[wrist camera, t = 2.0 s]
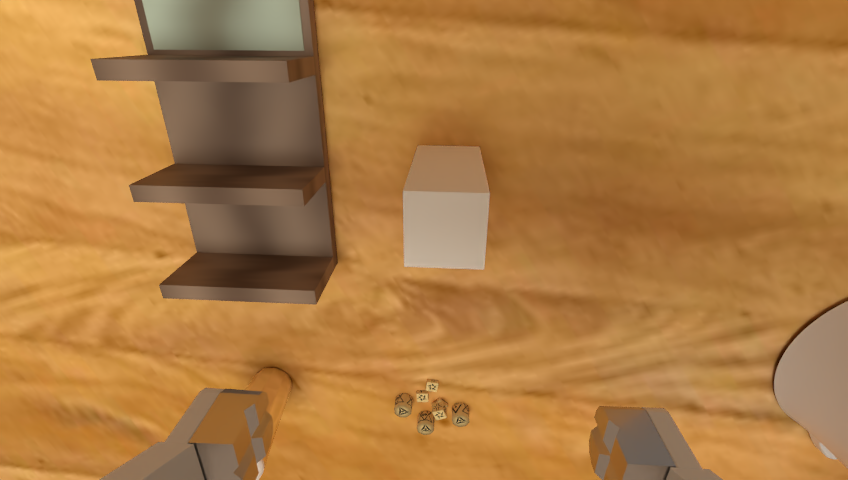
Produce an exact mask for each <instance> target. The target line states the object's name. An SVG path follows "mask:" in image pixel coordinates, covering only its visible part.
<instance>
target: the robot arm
mask: <svg viewBox="0 0 848 480" xmlns="http://www.w3.org/2000/svg"><path fill="white" fill-rule="evenodd" d="M774 392H775V396H776V399H777V401H778V404H779V405H780V407H781V408H782V410H783V411H784V412H785V413H786V414H787V415H788V416H789V417H790V418H792V419H793V420H794V421H796V422H797V423H798V424H800V425H801V426H802V427H804V428H805V429H806V430H807V431H808V432H809V435H810V437H811V440H812V442H813V444H814V445H815V446H816V447H817V448H818V449H819V450H820V451H821V452H822V453H823V454H824V455H825V456H826V457H828V458H830V459H838V460H839V461H840V462H841V463H842V464H843V465H845V466H846V467H847V468H848V301H847V302H845V303H843V304H841V305H839V306H837V307H835V308H833V309H832V310H830V311H828V312H827V313H825V314H824V315H822V316H821V317H819V318H818V319H816V320H815V321H814V322H813V323H811V324H810V325H809V326H808V327H806V328H805V329H804V330H803V331H802V332H801V333H800V334H799V335H798V336H797V337H796V338H795V339H794V340H793V342H792V343H791V344H790V345H789V347H788V348H787V350H786V351H785V353H784V354H783V356H782V358H781V360H780V362H779V364H778V367H777V370H776V373H775V378H774ZM268 405H269V399H268V395H267V393H266V392H263V391H249V390H235V389H215V388H205V389H203V390H202V391H200V392H199V394H198V395H197V396H196V398H195V399H194V401H193V402H192V404H191V405H190V406H189V408H188V409H187V411H186V412H185V414H184V415H183V416H182V418H181V419H180V421H179V422H178V424H177V425H176V426H175V428H174V429H173V431H172V432H171V434H170V435H169V436H168V438H167V439H166V441H165V442H158V443H156V444H155V445H153V446H151V447H150V448H148V449H147V450H145V451H144V452H142V453H140V454H139V455H137V456H136V457H134V458H133V459H131V460H129V461H128V462H126V463H125V464H123V465H122V466H120V467H119V468H117V469H115V470H114V471H112V472H111V473H109V474H108V475H106V476H104V477H103V478H101V479H100V480H256V478H257V476H258V473H259V472H258V467H257V463H258V462H259V461H260V460H262V459H263V458H264V457H265V456H266V455H267V452H268V450H269V447H270V445H271V440H272V435H273V419H272V416H271V415H270V414H269V413H268V412H267V411H266V409H267V407H268ZM594 418H595V420H596V423H597V427H595V428H594V429H593V430H592V431H591V434H590V439H589V453H590V458H591V463H592V466H593V469H594V472H595V473H596V474H597V475H598V476H599V477H600V478H601V479H602V480H723V479H721V478H720V477H719V476H717V475H716V474H715V473H713V472H712V471H711V470H709V469H702V468H701V466H700V464H699V462H698V461H697V459H696V457H695V456H694V454H693V452H692V451H691V449H690V447H689V446H688V444H687V442H686V441H685V439H684V437H683V436H682V434H681V432H680V431H679V429H678V427H677V426H676V424H675V422H674V421H673V419H672V417H671V416H670V414H669V412H668V411H667V410H665V409H664V408H644V407H642V408H640V407H616V406H599V407H598V409H597V410H596V414H595V417H594Z"/></svg>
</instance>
